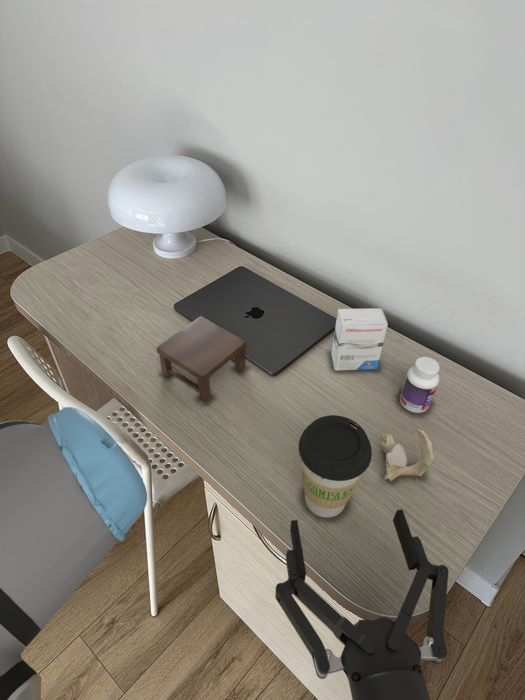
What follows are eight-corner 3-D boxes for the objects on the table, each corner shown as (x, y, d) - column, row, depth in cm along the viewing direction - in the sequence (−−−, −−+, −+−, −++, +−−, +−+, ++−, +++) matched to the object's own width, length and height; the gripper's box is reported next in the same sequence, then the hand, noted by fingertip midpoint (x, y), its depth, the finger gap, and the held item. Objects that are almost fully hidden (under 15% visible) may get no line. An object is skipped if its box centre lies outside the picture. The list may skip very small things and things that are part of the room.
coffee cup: (279, 498, 75) (283, 439, 64) (321, 459, 80) (331, 400, 69) (329, 543, 70) (342, 487, 59) (370, 499, 75) (389, 441, 64)
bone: (357, 463, 78) (390, 413, 74) (373, 453, 83) (404, 407, 79) (402, 500, 74) (439, 449, 70) (416, 488, 79) (450, 440, 75)
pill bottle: (428, 417, 87) (442, 379, 80) (397, 409, 88) (409, 371, 81) (430, 395, 90) (445, 357, 84) (401, 388, 91) (413, 350, 85)
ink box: (372, 352, 98) (383, 306, 90) (377, 370, 95) (389, 324, 87) (330, 353, 98) (337, 307, 90) (334, 371, 94) (341, 325, 86)
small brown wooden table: (161, 374, 93) (156, 347, 88) (203, 342, 100) (200, 315, 95) (205, 403, 88) (202, 377, 83) (246, 367, 95) (246, 341, 90)
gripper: (268, 749, 49) (249, 543, 64) (506, 716, 51) (432, 524, 66) (270, 736, 44) (248, 515, 59) (534, 699, 46) (447, 495, 61)
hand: (345, 519), depth 62 cm, fingers open, 13 cm apart
